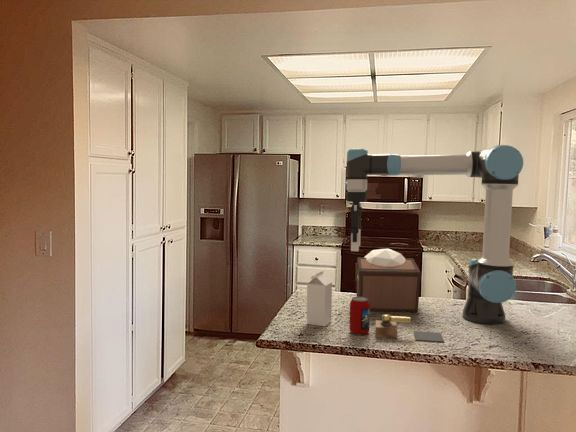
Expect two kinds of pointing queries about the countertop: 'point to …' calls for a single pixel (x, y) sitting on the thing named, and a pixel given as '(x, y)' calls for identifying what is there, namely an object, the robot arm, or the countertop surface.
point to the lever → (395, 319)
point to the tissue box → (388, 281)
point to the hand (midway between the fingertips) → (355, 248)
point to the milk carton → (319, 300)
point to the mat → (428, 336)
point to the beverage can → (359, 315)
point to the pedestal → (386, 330)
